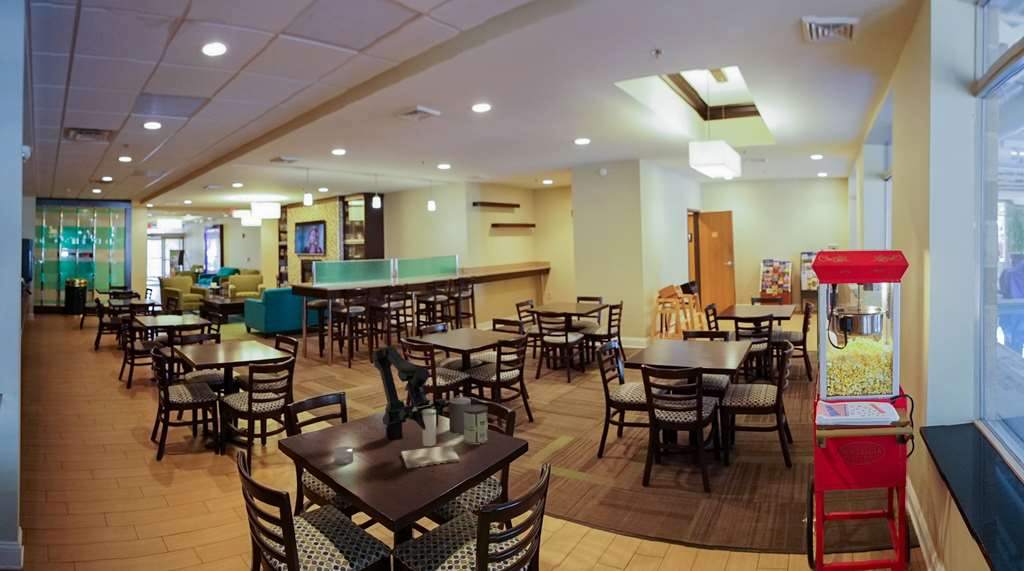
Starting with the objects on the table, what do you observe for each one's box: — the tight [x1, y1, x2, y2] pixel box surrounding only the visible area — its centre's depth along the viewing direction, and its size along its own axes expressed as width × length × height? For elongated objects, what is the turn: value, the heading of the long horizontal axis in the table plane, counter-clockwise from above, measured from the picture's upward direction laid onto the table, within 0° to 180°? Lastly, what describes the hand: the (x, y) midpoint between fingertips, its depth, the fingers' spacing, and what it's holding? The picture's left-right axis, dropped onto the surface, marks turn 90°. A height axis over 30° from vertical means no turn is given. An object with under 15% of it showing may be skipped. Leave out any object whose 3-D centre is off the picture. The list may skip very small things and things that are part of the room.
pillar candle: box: [448, 396, 472, 434], centre depth 255 cm, size 10×10×15 cm
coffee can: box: [463, 404, 489, 445], centre depth 242 cm, size 10×10×14 cm
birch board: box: [401, 445, 460, 469], centre depth 223 cm, size 20×15×1 cm
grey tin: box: [333, 446, 354, 467], centre depth 220 cm, size 7×7×5 cm
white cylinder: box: [422, 409, 437, 447], centre depth 222 cm, size 5×5×13 cm
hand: (431, 427), depth 221 cm, fingers closed on white cylinder, 5 cm apart
